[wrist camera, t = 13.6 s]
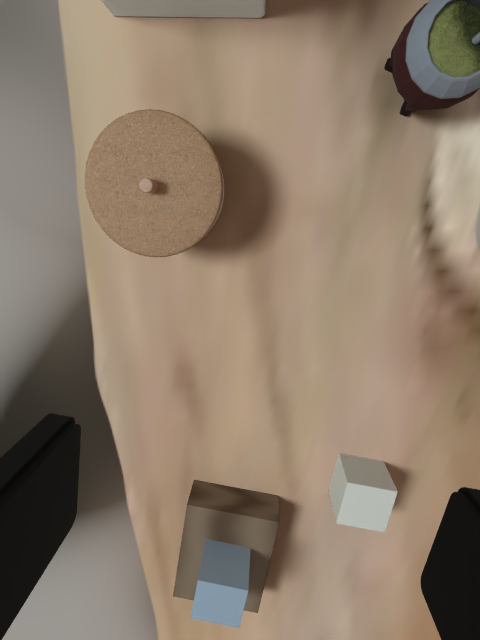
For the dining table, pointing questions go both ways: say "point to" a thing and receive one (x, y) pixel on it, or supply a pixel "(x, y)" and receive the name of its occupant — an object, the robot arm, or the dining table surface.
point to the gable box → (188, 8)
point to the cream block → (362, 492)
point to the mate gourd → (438, 56)
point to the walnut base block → (227, 534)
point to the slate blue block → (222, 584)
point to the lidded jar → (154, 183)
